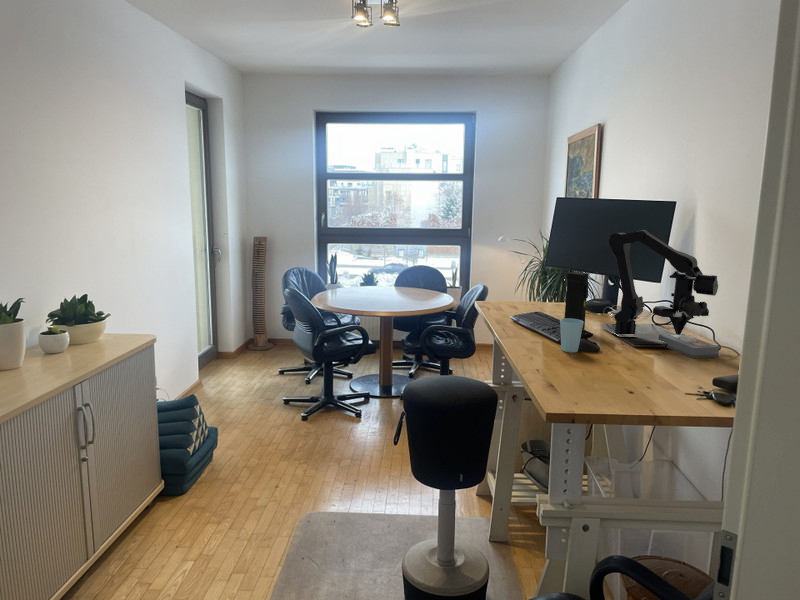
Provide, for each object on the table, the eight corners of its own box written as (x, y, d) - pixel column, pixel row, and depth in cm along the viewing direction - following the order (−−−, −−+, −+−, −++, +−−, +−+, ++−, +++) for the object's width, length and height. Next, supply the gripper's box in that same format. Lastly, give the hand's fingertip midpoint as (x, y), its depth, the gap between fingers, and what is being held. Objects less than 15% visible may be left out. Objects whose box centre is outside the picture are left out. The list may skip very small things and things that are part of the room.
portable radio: (587, 330, 228) (593, 267, 223) (580, 332, 224) (586, 268, 219) (569, 326, 233) (574, 265, 228) (562, 328, 229) (567, 266, 224)
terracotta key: (697, 353, 194) (698, 345, 194) (690, 350, 198) (690, 343, 197) (706, 352, 195) (707, 345, 194) (699, 349, 198) (700, 342, 198)
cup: (564, 353, 193) (567, 323, 192) (553, 347, 201) (556, 318, 199) (585, 353, 195) (587, 323, 193) (573, 347, 203) (576, 318, 201)
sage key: (675, 344, 205) (676, 337, 204) (669, 341, 208) (670, 335, 208) (684, 344, 205) (685, 337, 205) (678, 341, 209) (678, 334, 208)
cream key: (686, 344, 199) (687, 337, 199) (679, 342, 203) (680, 335, 202) (695, 344, 200) (696, 337, 199) (688, 341, 203) (689, 334, 203)
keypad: (692, 358, 192) (693, 348, 191) (658, 343, 209) (659, 334, 209) (718, 357, 194) (719, 347, 193) (682, 343, 211) (683, 333, 211)
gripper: (674, 296, 194) (669, 341, 197) (723, 295, 197) (717, 339, 200) (654, 290, 204) (649, 333, 207) (700, 289, 208) (694, 331, 211)
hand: (678, 334), depth 206 cm, fingers closed
